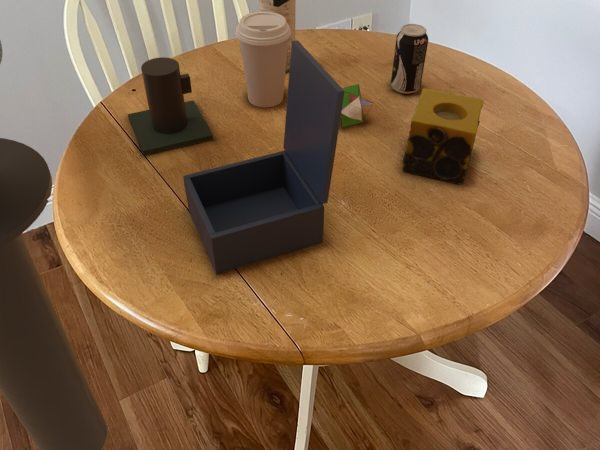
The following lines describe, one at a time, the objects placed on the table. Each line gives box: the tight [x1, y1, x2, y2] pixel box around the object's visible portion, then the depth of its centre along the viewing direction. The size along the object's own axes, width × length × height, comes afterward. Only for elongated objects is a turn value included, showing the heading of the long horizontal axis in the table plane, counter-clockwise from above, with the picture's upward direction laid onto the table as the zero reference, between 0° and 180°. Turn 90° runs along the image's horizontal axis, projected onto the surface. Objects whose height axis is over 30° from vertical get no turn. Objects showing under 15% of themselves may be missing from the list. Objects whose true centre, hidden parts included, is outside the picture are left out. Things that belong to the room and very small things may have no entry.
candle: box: [401, 87, 485, 185], centre depth 93 cm, size 10×10×10 cm
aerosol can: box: [258, 0, 297, 73], centre depth 112 cm, size 7×7×20 cm
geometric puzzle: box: [340, 83, 374, 128], centre depth 102 cm, size 7×7×8 cm
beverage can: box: [390, 23, 429, 95], centre depth 108 cm, size 6×6×12 cm
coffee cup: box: [234, 11, 291, 108], centre depth 105 cm, size 10×10×15 cm
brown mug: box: [140, 56, 193, 134], centre depth 98 cm, size 7×6×11 cm
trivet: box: [127, 100, 214, 157], centre depth 102 cm, size 12×12×1 cm
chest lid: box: [282, 39, 345, 205], centre depth 76 cm, size 16×14×1 cm
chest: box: [182, 150, 325, 275], centre depth 82 cm, size 16×14×7 cm
